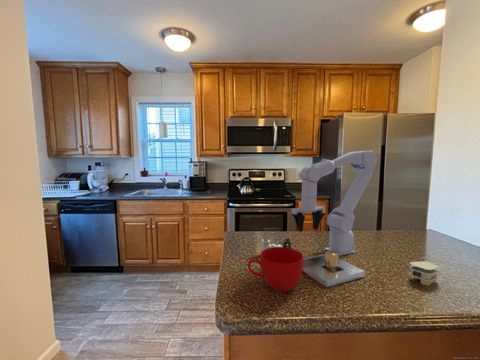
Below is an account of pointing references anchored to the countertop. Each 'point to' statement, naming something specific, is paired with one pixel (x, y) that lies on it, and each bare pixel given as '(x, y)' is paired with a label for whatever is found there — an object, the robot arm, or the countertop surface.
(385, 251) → the countertop surface
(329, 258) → the brass cylinder
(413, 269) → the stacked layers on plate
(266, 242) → the valve
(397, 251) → the countertop surface
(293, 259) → the ceramic cup
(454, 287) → the countertop surface
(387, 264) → the countertop surface
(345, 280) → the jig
